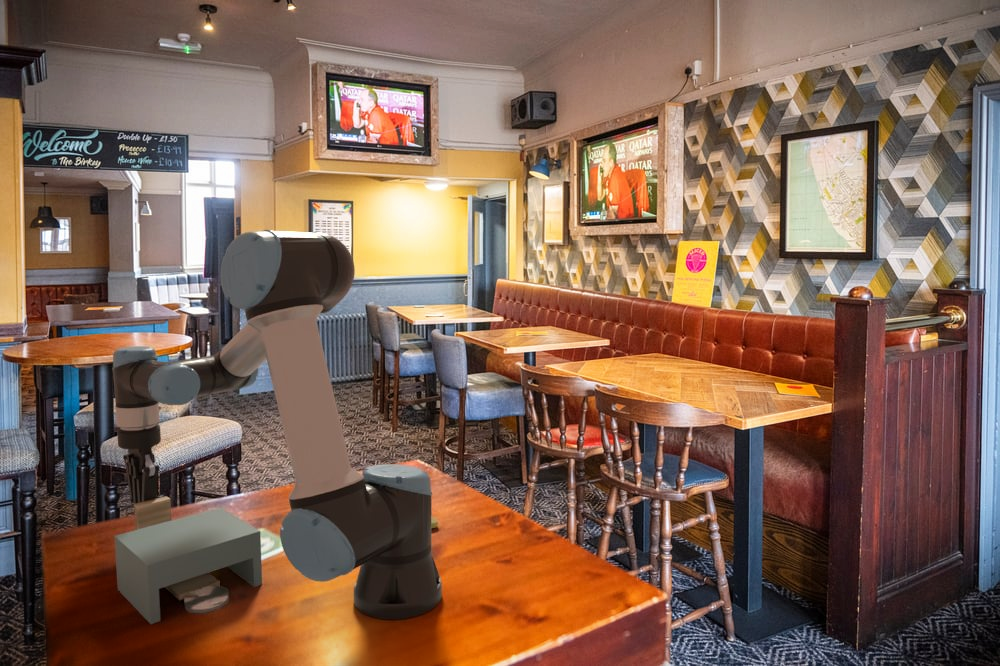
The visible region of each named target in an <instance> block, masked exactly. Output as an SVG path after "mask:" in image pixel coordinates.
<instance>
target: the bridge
mask: <svg viewBox="0 0 1000 666" xmlns="http://www.w3.org/2000/svg"><path fill="white" fill-rule="evenodd" d="M113 537H114V551H115V552H114V554H115V568H116V569H115V570H116V581H117V582H116V584H117V591H118V592H119V591H120V592H119V593H121V595H122V596H123V597H124V598H125V599H126V600H127V601H128V602H129V603H130V604H131V606H133V608H135V610H136V611H137V612H138V613H139V614H140V615H141V616H142V617H143V619H145V620H146V621H147V623H149V624H150V625H153V624H157V623H158V622H161V606H160V589H162V588H165V587H166V586H169V585H172V584H175V583H178V582H181V581H184V580H187V579H190V578H193V577H196V576H199V575H202V574H205V573H208V572H209V573H211V572H213V571H217V570H221V569H223V568H228V569H229V570H231V571H232V572H234V574H236V575H237V576H238V577H240V578H242V579H243V580H244V581H246V582H247V583H248V584H249V585H251V586H252V587H253V588H256V587H258V586H259V587H260V586H261V585H263V573H262V572H263V571H262V570H263V569H262V545H261V544H262V542H261V541H262V540H261V531H260V530H259V529H257V528H256V527H254V526H252V525H251V524H249V523H248V522H246V521H244V520H243V519H242V518H240V517H238V516H236V515H235V514H233V513H232V512H229V510H227V509H225V508H223V507H217V508H214V509H210V510H206V511H202V512H201V511H200V512H198V513H194V514H191V515H187V516H183V517H178V518H175V519H172V520H171V521H168V522H164V523H160V524H156V525H153V526H149V527H145V528H141V529H137V530H135V529H134V530H131V531H127V532H123V533H119V534H115V535H113Z"/></svg>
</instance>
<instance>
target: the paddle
mask: <svg viewBox="0 0 1000 666" xmlns="http://www.w3.org/2000/svg"><path fill="white" fill-rule="evenodd" d="M171 504H172V503H171V498H170V497H168V496H160V497H157V498H156V499H152V500H148V501H144V502H140V503H136V504H134V503H133V509H134V512H133V513H134V528H135V529H134V530H137V529H141V528H145V527H149V526H153V525H156V524H160V523H164V522H168V521H171V520H173V519H172V505H171ZM206 586H221V585H220V580H219V579H218V578H216V577H215V576H214V575H212V574H211V572H208V573H205V574H202V575H199V576H196V577H193V578H190V579H187V580H184V581H181V582H178V583H175V584H172V585H169V586H166V587H164V588H165V589H166V590H167V591H168V592H169V593H170V594H172V596H174V598H176V599H177V600H178V601H182V600H184V598H185V596H186V595H187V594H188V593H190V592H192V591H194V590H196V589H198V588H202V587H206Z"/></svg>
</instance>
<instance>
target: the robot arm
mask: <svg viewBox="0 0 1000 666" xmlns="http://www.w3.org/2000/svg"><path fill="white" fill-rule="evenodd" d="M355 270H356V269H355V263H354V260H353V256H352V254H351V252H350V251H349V249H348V248H347V246H346V245H345V244H344V243H343V242H342V241H341V240H339V239H338V238H336V237H334V236H333V235H331V234H328V233H324V232H321V231H320V232H317V231H310V232H308V231H283V230H272V229H264V230H261V231H247V232H244V233H241V234H239V235H238V236H236V237H235V238H234V239H233V240H232V241H231V242H230V244H229V245H228V246H227V248H226V250H225V254H224V256H223V258H222V260H221V267H220V283H221V289H222V292H223V294H224V295H223V296H224V297H225V298H226V300H227V301H229V304H231V306H233V307H235V308H237V309H239V310H244V313H245V318H246V321H247V323H246V324H245V325H244V326H243V328H241V329H240V330H239V331H238V332H237V333H236V334H235V335H234V336H233V337H232V339H230V340H229V341H228V342H227V344H225V345H224V346H223V347H222V348H221V349H220V350H219V351H217V353H216V354H213V355H207V356H201V357H195V358H189V359H188V358H187V359H180V360H173V361H159V360H158V356H157V351H156V350H155V348H154V347H152V346H146V345H145V346H144V345H143V346H142V345H140V346H138V345H136V346H128V347H127V346H126V347H120V348H118V349H115V351H114V352H113V355H112V362H113V364H112V369H111V370H112V374H113V375H112V376H113V377H112V378H113V386H114V387H113V388H114V399H115V400H114V401H115V405H114V406H115V407H114V408H115V423H116V424H115V425H116V426H117V427H118V429H117V430H116V433H117V435H116V436H117V446H118V447H119V448H120V449H122V450H127V454H124V455H123V457H122V458H123V461H124V464H125V470H126V471H125V472H126V477H127V478H126V479H127V485H128V493H129V499H130V500H129V502H130V503H131V504H133V505H134V504H136V503H140V502H144V501H148V500H152V499H156V498H158V480H159V478H158V477H159V474H160V473H159V472H160V465H159V464H155V461H156V459H155V454H154V453H153V450H152V448H154V447H155V446H157V445H159V444H160V443H161V440H162V437H161V426H160V424H159V422H160V411H161V410H162V406H161V405H160V404H162V405H167V406H174V405H175V406H184V405H187V404H189V403H190V402H192V401H193V400H194V399H196V398H199V397H205V396H208V395H214V394H218V393H225V392H231V391H239V390H241V389H244V388H247V387H250V386H252V385H254V384H255V382H256V381H257V377H258V375H259V367H261V366H262V365H263V364H264V363H265V362H267V365H268V371H269V373H270V374H269V375H270V379H271V383H272V387H273V391H274V396H275V400H276V404H277V407H278V413H279V417H280V418H279V419H280V422H281V426H282V429H283V434H284V438H285V442H286V447H287V451H288V456H289V460H290V463H291V469H292V472H293V477H294V480H295V481H294V482H295V483H294V486H293V488H292V490H291V491H290V493H289V494H288V502H289V506H290V511H289V512H287V514H286V515H285V516H284V517H283V518H282V521H281V527H280V528H279V538H280V543H281V544H280V545H281V547H282V549H283V552H284V554H285V556H286V558H287V560H288V561H289V562H290V563H291V566H293V567H294V569H295V570H297V571H298V572H299V573H300V574H301V575H302V576H304V578H307V579H309V580H311V581H315V582H318V583H323V582H329V581H332V580H335V579H337V578H338V577H340V576H346V575H348V574H350V573H352V571H353V570H355V569H357V568H359V571H358V575H357V579H356V581H355V584H354V585H353V586H354V587H353V603H354V606H355V608H356V609H357V610H358V611H359V612H361V613H362V614H364V615H366V616H369V617H371V618H375V619H381V620H403V619H410V618H413V617H418V616H420V615H423V614H425V613H429V611H431V610H432V609H434V608H435V607H436V606H438V604H439V603H440V602H441V599H442V595H443V590H442V589H443V588H442V587H443V586H442V585H443V583H442V579H441V577H440V574H439V570H438V568H437V565H436V562H435V559H434V556H433V552H432V528H431V517H432V496H433V492H432V483H431V477H430V475H429V474H428V472H427V471H425V470H424V469H423V468H422V469H421V468H419V467H415V466H413V465H405V464H391V463H389V464H385V463H384V464H375V465H370V466H367V467H365V468H363V470H362V473H360V472H359V471H357V470H355V469H354V468H353V467H352V466H351V462H350V458H349V453H348V448H347V444H346V441H345V440H346V439H345V437H344V433H343V429H342V424H341V419H340V415H339V412H338V411H339V410H338V406H337V403H336V399H335V394H334V390H333V385H332V381H331V377H330V374H329V373H330V372H329V368H328V364H327V361H326V355H325V352H324V347H323V343H322V339H321V335H320V331H319V326H318V323H317V320H318V318H319V316H320V315H323V314H327V313H328V312H330V311H331V310H332V309H334V307H336V306H337V305H339V304H340V302H341V301H342V300H343V299H344V298H345V297H346V295H347V294H348V293H349V291H350V290H351V288H352V287H353V286H352V285H353V282H354V279H355V274H356V273H355ZM154 464H155V465H154Z"/></svg>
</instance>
